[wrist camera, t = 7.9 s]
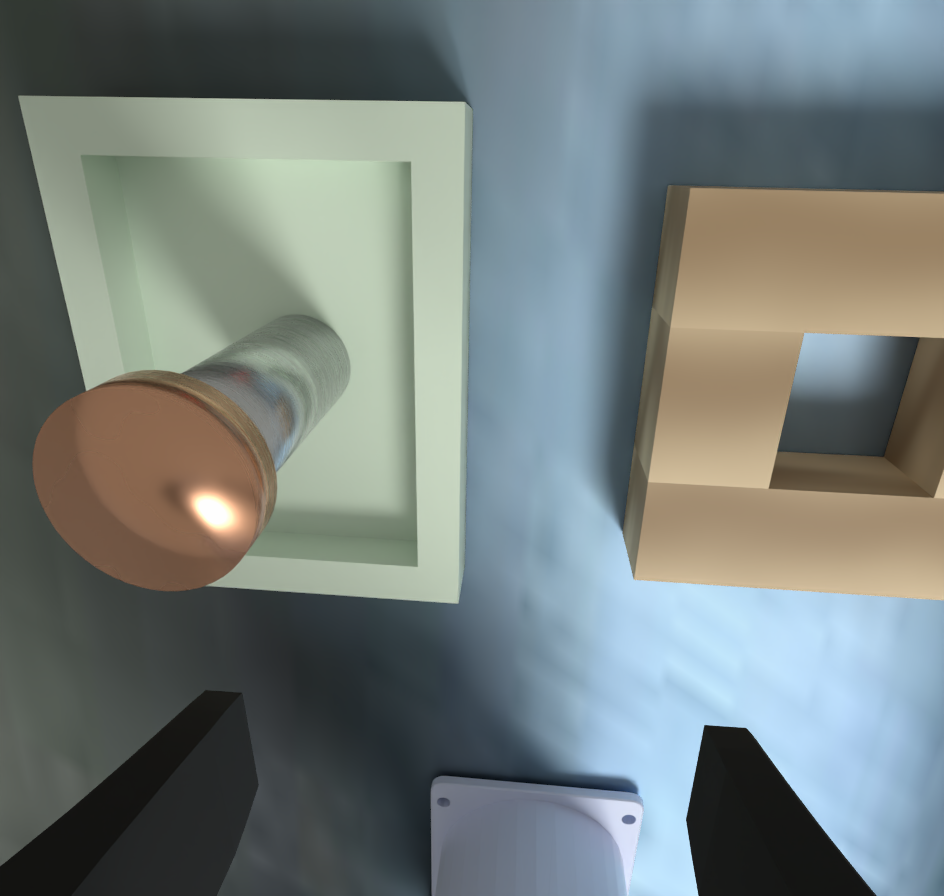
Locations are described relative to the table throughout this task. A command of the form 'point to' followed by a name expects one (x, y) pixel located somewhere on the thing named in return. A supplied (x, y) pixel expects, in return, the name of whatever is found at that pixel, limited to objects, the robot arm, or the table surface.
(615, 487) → the table surface
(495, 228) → the table surface
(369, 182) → the tray
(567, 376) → the table surface
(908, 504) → the socket block
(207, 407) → the pin
